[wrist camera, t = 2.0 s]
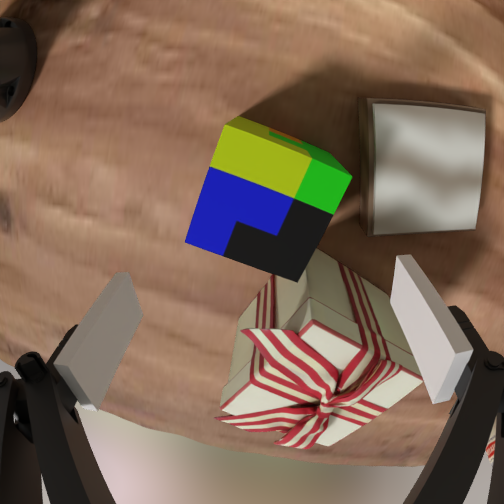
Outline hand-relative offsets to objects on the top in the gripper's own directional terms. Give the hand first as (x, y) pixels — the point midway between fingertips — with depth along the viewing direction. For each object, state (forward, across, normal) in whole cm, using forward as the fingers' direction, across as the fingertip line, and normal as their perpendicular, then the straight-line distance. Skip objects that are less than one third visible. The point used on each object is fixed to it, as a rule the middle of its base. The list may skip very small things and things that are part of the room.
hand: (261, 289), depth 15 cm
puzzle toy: (+21, 0, 0) cm, 21 cm away
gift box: (+21, +3, -17) cm, 27 cm away
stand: (+20, +17, +1) cm, 26 cm away
